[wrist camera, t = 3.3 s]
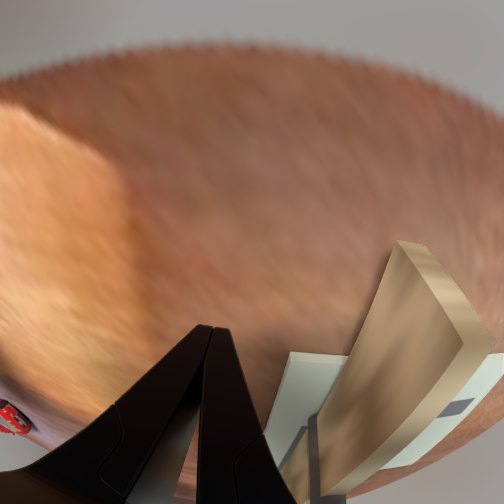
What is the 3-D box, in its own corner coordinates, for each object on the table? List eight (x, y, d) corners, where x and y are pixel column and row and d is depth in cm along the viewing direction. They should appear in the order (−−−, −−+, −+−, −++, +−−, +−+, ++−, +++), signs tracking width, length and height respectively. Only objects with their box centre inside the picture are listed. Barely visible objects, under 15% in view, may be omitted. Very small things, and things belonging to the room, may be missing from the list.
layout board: (410, 459, 21) (411, 464, 20) (251, 465, 21) (250, 472, 20) (512, 352, 13) (516, 358, 13) (290, 351, 13) (290, 361, 13)
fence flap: (332, 427, 15) (339, 516, 10) (304, 426, 15) (305, 519, 10) (427, 243, 9) (520, 370, 4) (386, 235, 9) (472, 379, 4)
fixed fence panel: (292, 470, 21) (291, 536, 15) (275, 469, 21) (271, 536, 15) (327, 421, 16) (333, 518, 10) (303, 420, 16) (304, 520, 10)
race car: (14, 400, 23) (0, 423, 20) (40, 426, 26) (29, 448, 22) (-23, 387, 26) (-34, 404, 22) (-2, 410, 28) (-11, 427, 25)
